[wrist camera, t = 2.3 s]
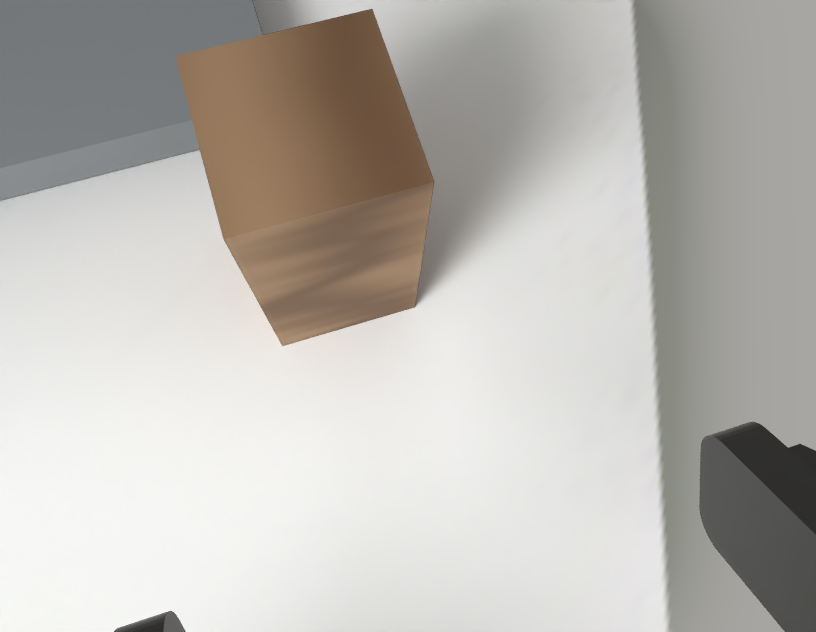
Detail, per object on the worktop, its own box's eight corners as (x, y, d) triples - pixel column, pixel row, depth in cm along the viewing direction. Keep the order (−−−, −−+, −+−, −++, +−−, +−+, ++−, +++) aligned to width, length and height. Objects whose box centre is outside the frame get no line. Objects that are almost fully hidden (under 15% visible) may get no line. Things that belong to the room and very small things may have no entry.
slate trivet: (-25, 206, 27) (-56, 182, 25) (-67, -47, 30) (-98, -86, 28) (288, 126, 28) (281, 97, 26) (217, -108, 31) (206, -149, 29)
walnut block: (282, 346, 26) (223, 239, 16) (248, 222, 27) (175, 56, 17) (415, 307, 26) (434, 181, 17) (375, 188, 28) (372, 8, 18)
